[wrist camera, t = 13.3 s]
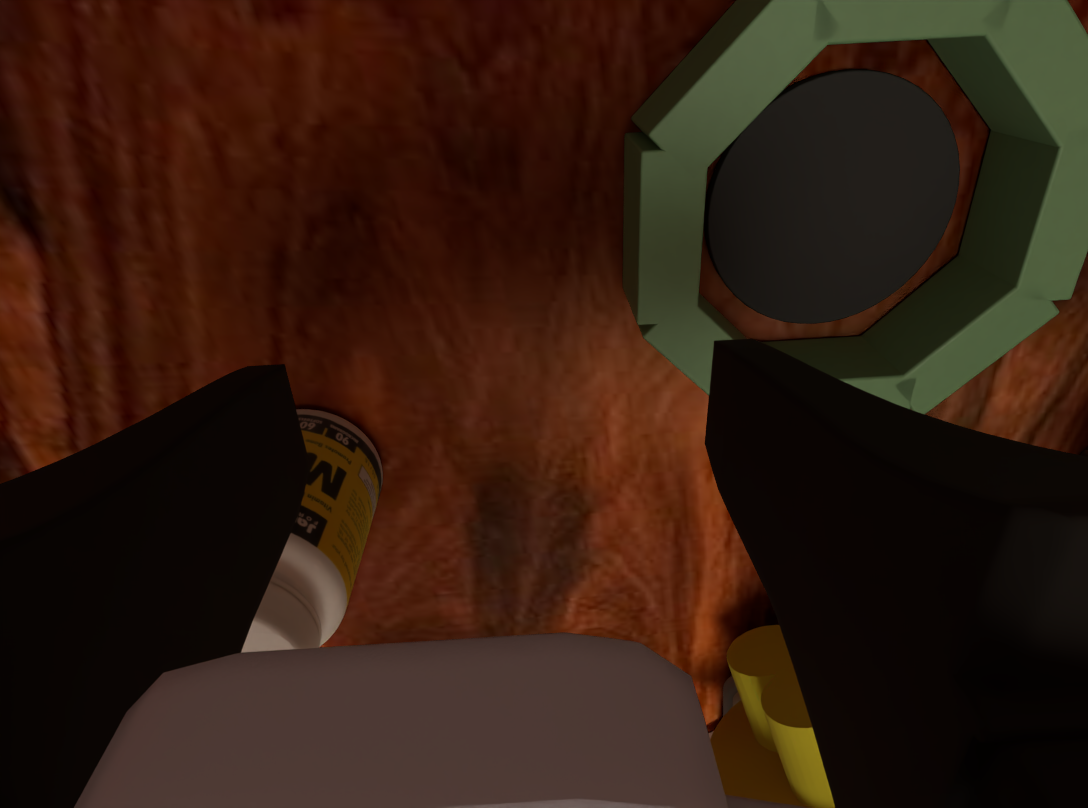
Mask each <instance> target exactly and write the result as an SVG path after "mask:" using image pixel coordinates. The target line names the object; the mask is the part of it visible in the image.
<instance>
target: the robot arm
mask: <svg viewBox="0 0 1088 808" xmlns="http://www.w3.org/2000/svg"><path fill="white" fill-rule="evenodd" d="M705 445H706V449H707V453H708V456H709V460H710V463H711V467H712V471H713V474H714V477H715V480H716V483H717V487H718V490H719V492H720V494H721V496H722V499H723V501H724V503H725V505H726V507H727V510H728V512H729V514H730V516H731V518H732V520H733V523H734V525H735V527H736V529H737V531H738V533H739V535H740V537H741V539H742V542H743V544H744V546H745V548H746V550H747V552H748V554H749V556H750V558H751V560H752V563H753V565H754V567H755V569H756V571H757V573H758V575H759V577H760V579H761V582H762V584H763V586H764V588H765V590H766V592H767V595H768V597H769V600H770V602H771V604H772V607H773V609H774V612H775V614H776V617H777V620H778V623H779V626H780V628H781V631H782V634H783V637H784V640H785V643H786V646H787V649H788V652H789V655H790V658H791V661H792V664H793V667H794V670H795V673H796V676H797V680H798V683H799V686H800V689H801V692H802V696H803V699H804V702H805V705H806V708H807V712H808V715H809V718H810V721H811V724H812V728H813V731H814V735H815V738H816V742H817V745H818V749H819V752H820V756H821V759H822V763H823V766H824V770H825V773H826V777H827V780H828V784H829V787H830V791H831V794H832V798H833V801H834V805H835V808H1088V456H1082V455H1076V454H1071V453H1066V452H1062V451H1057V450H1052V449H1047V448H1042V447H1038V446H1033V445H1029V444H1025V443H1021V442H1017V441H1013V440H1009V439H1005V438H1001V437H997V436H993V435H989V434H985V433H982V432H978V431H975V430H971V429H968V428H964V427H961V426H958V425H954V424H951V423H948V422H945V421H942V420H939V419H936V418H933V417H930V416H927V415H924V414H921V413H918V412H915V411H913V410H910V409H907V408H905V407H902V406H899V405H897V404H894V403H892V402H889V401H887V400H885V399H882V398H880V397H878V396H875V395H873V394H870V393H868V392H866V391H863V390H861V389H859V388H856V387H854V386H852V385H850V384H848V383H845V382H843V381H841V380H839V379H837V378H835V377H833V376H831V375H829V374H826V373H824V372H822V371H820V370H818V369H816V368H814V367H812V366H810V365H808V364H806V363H804V362H802V361H800V360H798V359H796V358H794V357H792V356H790V355H788V354H786V353H784V352H782V351H780V350H778V349H775V348H773V347H771V346H769V345H767V344H764V343H762V342H759V341H756V340H753V339H735V340H717V341H714V347H713V358H712V369H711V380H710V392H709V403H708V414H707V425H706V436H705ZM309 470H310V462H309V459H308V455H307V451H306V447H305V443H304V439H303V435H302V431H301V427H300V423H299V419H298V415H297V411H296V407H295V403H294V399H293V395H292V392H291V388H290V384H289V380H288V376H287V372H286V368H285V364H281V365H263V366H247V367H245V368H242V369H239V370H236V371H234V372H232V373H230V374H228V375H225V376H223V377H221V378H219V379H217V380H216V381H214V382H212V383H210V384H208V385H206V386H204V387H202V388H201V389H199V390H197V391H195V392H193V393H191V394H190V395H188V396H186V397H184V398H182V399H181V400H179V401H177V402H175V403H173V404H171V405H170V406H168V407H166V408H164V409H162V410H161V411H159V412H157V413H155V414H153V415H151V416H150V417H148V418H146V419H144V420H142V421H140V422H138V423H136V424H134V425H132V426H130V427H128V428H126V429H124V430H122V431H120V432H118V433H116V434H114V435H112V436H110V437H108V438H106V439H104V440H102V441H100V442H98V443H96V444H95V445H92V446H90V447H88V448H86V449H84V450H82V451H80V452H77V453H75V454H73V455H71V456H68V457H66V458H64V459H62V460H59V461H57V462H54V463H52V464H50V465H47V466H45V467H42V468H40V469H38V470H35V471H33V472H30V473H28V474H25V475H23V476H20V477H18V478H15V479H13V480H10V481H7V482H5V483H2V484H0V808H809V807H803V806H796V805H790V804H783V803H777V802H770V801H764V800H758V799H751V798H745V797H738V796H732V795H725V792H724V789H723V785H722V781H721V778H720V774H719V770H718V767H717V763H716V760H715V756H714V752H713V749H712V745H711V741H710V738H709V734H708V730H707V727H706V723H705V720H704V716H703V713H702V710H701V707H700V703H699V700H698V697H697V694H696V690H695V687H694V684H693V681H692V677H691V676H690V675H689V674H687V673H685V672H684V671H682V670H681V669H679V668H678V667H676V666H675V665H673V664H672V663H670V662H669V661H667V660H666V659H664V658H663V657H661V656H660V655H658V654H656V653H655V652H653V651H652V650H650V649H649V648H647V647H646V646H644V645H643V644H641V643H638V642H634V641H629V640H621V639H613V638H605V637H597V636H589V635H581V634H573V633H549V634H533V635H517V636H500V637H484V638H468V639H452V640H436V641H419V642H403V643H387V644H371V645H354V646H338V647H322V648H306V649H290V650H273V651H257V652H242V653H241V651H242V648H243V645H244V643H245V640H246V637H247V635H248V632H249V630H250V627H251V624H252V622H253V619H254V617H255V615H256V612H257V610H258V608H259V606H260V603H261V601H262V599H263V596H264V594H265V592H266V589H267V587H268V585H269V582H270V580H271V578H272V576H273V573H274V571H275V569H276V566H277V564H278V562H279V559H280V557H281V555H282V553H283V550H284V548H285V545H286V543H287V541H288V538H289V536H290V534H291V531H292V529H293V526H294V524H295V521H296V519H297V516H298V514H299V510H300V507H301V503H302V499H303V495H304V492H305V487H306V483H307V478H308V474H309Z"/></svg>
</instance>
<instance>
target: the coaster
mask: <svg viewBox="0 0 1088 808" xmlns="http://www.w3.org/2000/svg"><path fill="white" fill-rule="evenodd" d="M959 171H960V166H959V154H958V148H957V144H956V140H955V136H954V133H953V131H952V128H951V126H950V123H949V121H948V119H947V118H946V116H945V115H944V113H943V111H942V110H941V108H940V107H939V106H938V105H937V103H936V102H935V101H934V100H933V99H932V98H931V97H930V96H929V95H928V94H927V93H926V92H924V91H923V90H922V89H921V88H919V87H918V86H916V85H915V84H913V83H911V82H909V81H907V80H906V79H904V78H901V77H898V76H895V75H892V74H889V73H884V72H879V71H873V70H867V69H845V70H838V71H830V72H827V73H823V74H819V75H816V76H812V77H810V78H808V79H805V80H803V81H800V82H798V83H796V84H794V85H792V86H790V87H788V88H787V89H785V90H783V91H782V92H781V93H780V94H779V95H778V96H777V97H776V98H775V99H774V100H773V101H772V102H771V103H770V104H769V105H768V106H767V107H766V108H765V109H764V110H763V111H762V112H761V113H760V114H759V115H758V116H757V117H756V118H755V119H754V120H753V121H752V122H751V123H750V124H749V125H748V126H747V127H746V128H745V130H744V131H743V132H742V133H741V134H740V135H739V136H738V137H737V138H736V139H735V140H734V141H733V142H732V143H731V144H730V145H729V146H728V147H727V148H726V149H725V151H724V153H723V155H722V156H721V158H720V160H719V162H718V164H717V167H716V169H715V172H714V174H713V177H712V180H711V183H710V187H709V191H708V195H707V201H706V208H705V233H706V241H707V246H708V250H709V253H710V257H711V259H712V262H713V264H714V266H715V269H716V271H717V272H718V274H719V276H720V277H721V279H722V280H723V282H724V283H725V285H726V286H727V287H728V288H729V289H730V290H731V292H732V293H733V294H734V295H735V296H736V297H737V298H738V299H739V300H741V301H742V302H743V303H744V304H745V305H746V306H748V307H750V308H751V309H753V310H755V311H756V312H758V313H760V314H763V315H765V316H767V317H770V318H773V319H776V320H780V321H784V322H791V323H822V322H830V321H834V320H838V319H842V318H846V317H848V316H851V315H854V314H857V313H859V312H862V311H864V310H866V309H868V308H870V307H872V306H874V305H876V304H877V303H879V302H880V301H882V300H884V299H885V298H887V297H888V296H890V295H891V294H892V293H894V292H895V291H896V290H898V289H899V288H900V287H902V286H903V285H904V284H905V283H906V282H907V281H908V280H909V279H910V278H911V277H912V276H913V275H914V274H915V273H916V272H917V271H918V270H919V269H920V268H921V266H922V265H923V264H924V263H925V262H926V260H927V259H928V258H929V256H930V255H931V253H932V252H933V251H934V249H935V248H936V246H937V244H938V242H939V241H940V239H941V237H942V235H943V234H944V232H945V229H946V227H947V225H948V222H949V220H950V218H951V215H952V212H953V208H954V205H955V202H956V197H957V192H958V186H959Z"/></svg>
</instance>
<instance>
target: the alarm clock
mask: <svg viewBox="0 0 1088 808" xmlns="http://www.w3.org/2000/svg"><path fill="white" fill-rule="evenodd" d="M1081 455H1082V456H1088V449H1087V450H1084V451H1083V452H1082V453H1081Z"/></svg>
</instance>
